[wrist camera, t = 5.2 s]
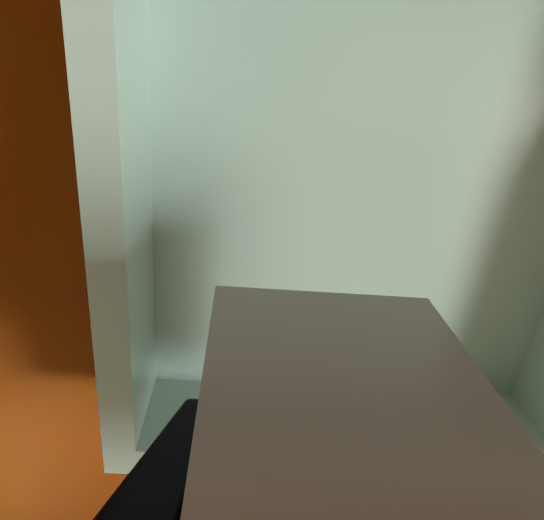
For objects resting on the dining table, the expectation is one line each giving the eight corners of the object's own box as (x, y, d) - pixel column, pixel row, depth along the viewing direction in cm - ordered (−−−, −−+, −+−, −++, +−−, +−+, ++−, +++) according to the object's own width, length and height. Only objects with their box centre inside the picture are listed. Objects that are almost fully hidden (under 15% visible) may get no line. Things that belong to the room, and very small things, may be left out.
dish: (511, 396, 15) (580, 484, 12) (136, 381, 14) (104, 472, 11) (694, -43, 10) (901, -90, 7) (113, -120, 9) (39, -217, 6)
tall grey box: (379, 473, 10) (477, 788, 6) (207, 468, 9) (173, 796, 5) (428, 298, 8) (630, 571, 4) (215, 285, 8) (173, 566, 3)
